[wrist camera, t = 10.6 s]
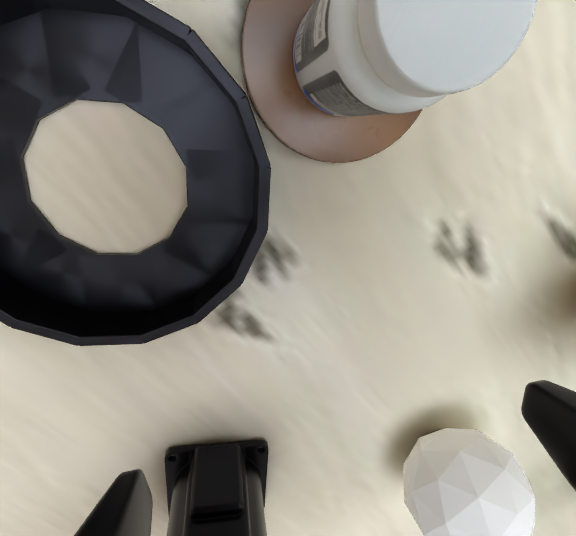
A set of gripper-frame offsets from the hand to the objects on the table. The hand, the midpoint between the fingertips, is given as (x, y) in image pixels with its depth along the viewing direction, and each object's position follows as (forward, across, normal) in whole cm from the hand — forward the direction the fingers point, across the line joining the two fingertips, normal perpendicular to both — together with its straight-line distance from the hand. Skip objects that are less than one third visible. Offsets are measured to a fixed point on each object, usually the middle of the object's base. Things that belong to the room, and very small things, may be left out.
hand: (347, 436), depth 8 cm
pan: (+12, +11, -5) cm, 17 cm away
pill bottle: (+12, -4, -9) cm, 15 cm away
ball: (+12, -10, +17) cm, 23 cm away
